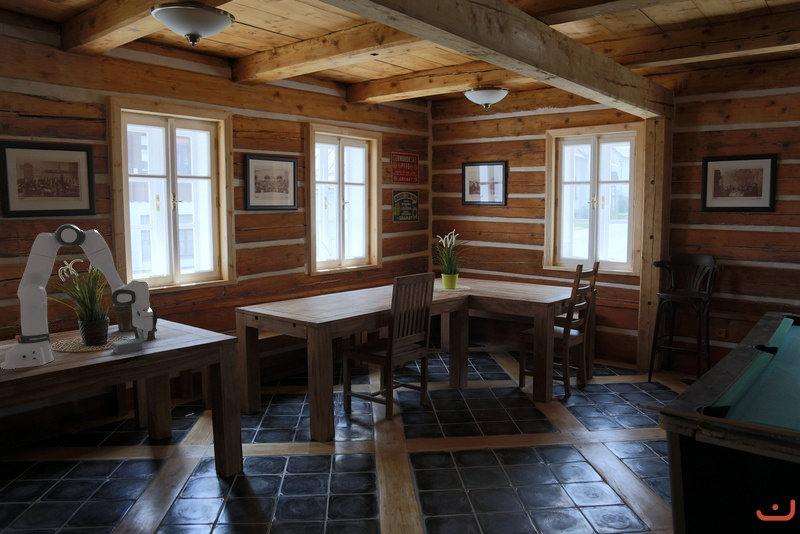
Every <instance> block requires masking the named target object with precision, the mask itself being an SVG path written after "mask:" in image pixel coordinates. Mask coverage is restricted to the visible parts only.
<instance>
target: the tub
mask: <svg viewBox="0 0 800 534" xmlns="http://www.w3.org/2000/svg"><path fill="white" fill-rule="evenodd" d="M142 351H143V342H138V343H132V344H125V345H119V346H117V345H115V344H113V343H112V352H113V353H114V354H116V355H124V354H130V353H135V352H142Z"/></svg>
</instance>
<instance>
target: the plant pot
mask: <svg viewBox="0 0 800 534" xmlns="http://www.w3.org/2000/svg"><path fill="white" fill-rule="evenodd" d="M112 307H113V309H114V313H115V316H116V322H117V328H118V329H117V330H118V331H119V332H125V333H126V332H134V326H133V323H132V305H131V304H130V305H126V306H122V307H121V306H117V305H115V304H114V303H113V304H112Z"/></svg>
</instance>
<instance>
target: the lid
mask: <svg viewBox="0 0 800 534" xmlns="http://www.w3.org/2000/svg"><path fill="white" fill-rule="evenodd" d="M143 333H144V332H139V339H137V338H135V337H134V338H131V339H123V340H117V341H112V345H113V344H115V345H117V346H119V345H125V344H132V343H138V342H142V341H144V342H146V341H145V340H147V338H143ZM142 343H143V342H142Z"/></svg>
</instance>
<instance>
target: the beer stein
mask: <svg viewBox="0 0 800 534" xmlns="http://www.w3.org/2000/svg"><path fill="white" fill-rule="evenodd" d="M150 308H151V310H152V311H153V315H152V320H153V327H152V330H151V331H148V334H147V340H145V341H142V343H143V342H151V341H154V340H156V336H155V335H156V333H157V332H158V329H157V323H158V320H159V319H158V311H157V307H156V306H154V305H152V304H150ZM133 332H134V339H135V338H137V339H139V335H138V331H137V327H135V326H134V331H133ZM142 332H143V330H142Z"/></svg>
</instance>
